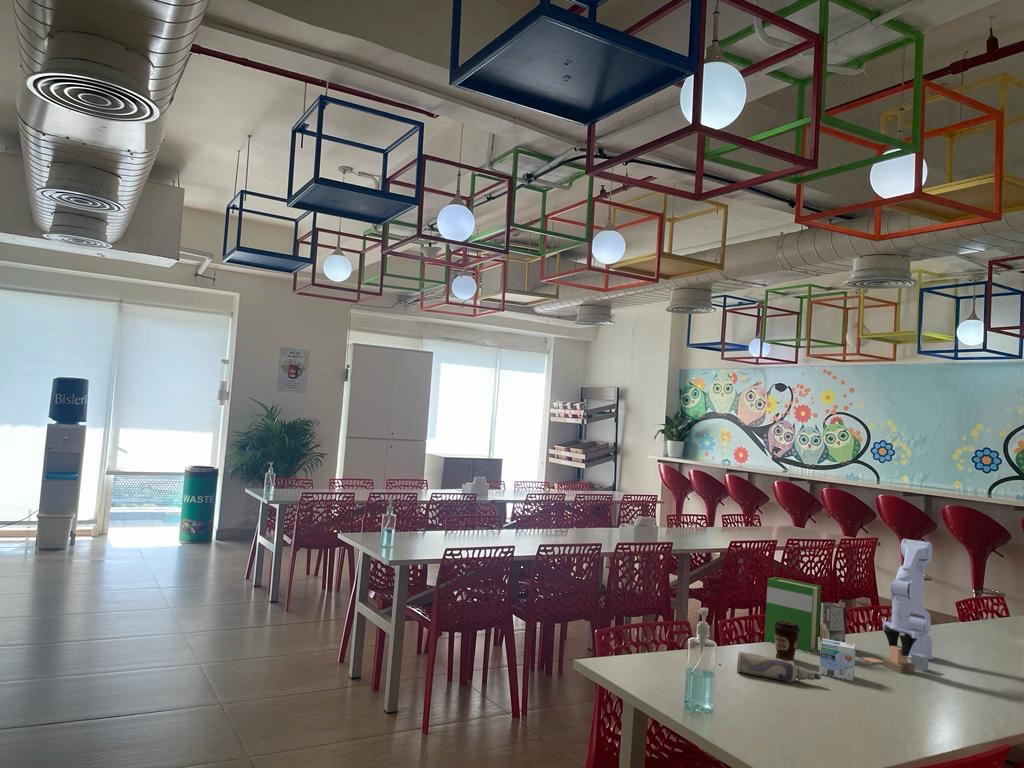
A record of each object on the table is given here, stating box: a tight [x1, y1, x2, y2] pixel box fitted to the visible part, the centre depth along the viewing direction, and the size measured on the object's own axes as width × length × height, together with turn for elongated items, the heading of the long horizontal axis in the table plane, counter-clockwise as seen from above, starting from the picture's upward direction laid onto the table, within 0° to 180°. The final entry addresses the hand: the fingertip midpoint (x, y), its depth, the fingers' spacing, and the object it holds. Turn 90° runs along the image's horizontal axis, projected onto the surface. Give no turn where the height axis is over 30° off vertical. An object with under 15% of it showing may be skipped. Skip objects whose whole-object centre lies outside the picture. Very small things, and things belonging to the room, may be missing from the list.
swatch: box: [857, 656, 883, 665], centre depth 266 cm, size 7×7×1 cm
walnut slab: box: [882, 658, 916, 674], centre depth 258 cm, size 7×7×3 cm
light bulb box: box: [818, 638, 856, 682], centre depth 246 cm, size 11×7×11 cm, turn 62°
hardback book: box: [763, 576, 822, 653], centre depth 280 cm, size 18×7×24 cm, turn 45°
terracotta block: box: [888, 645, 908, 664], centre depth 258 cm, size 4×4×5 cm
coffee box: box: [819, 601, 847, 644], centre depth 282 cm, size 9×6×16 cm
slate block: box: [910, 653, 929, 672], centre depth 260 cm, size 4×4×5 cm
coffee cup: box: [774, 620, 800, 662], centre depth 260 cm, size 9×8×13 cm
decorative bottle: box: [736, 651, 822, 683], centre depth 237 cm, size 26×8×7 cm, turn 68°
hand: (899, 653), depth 258 cm, fingers open, 5 cm apart
